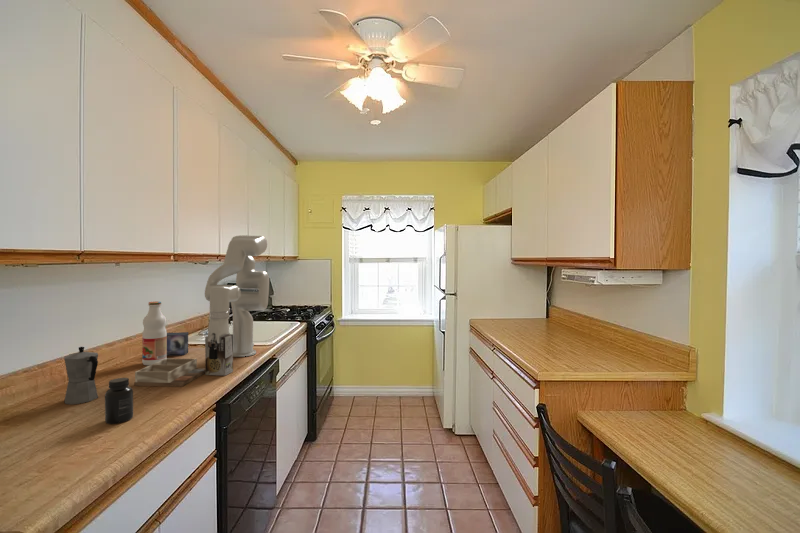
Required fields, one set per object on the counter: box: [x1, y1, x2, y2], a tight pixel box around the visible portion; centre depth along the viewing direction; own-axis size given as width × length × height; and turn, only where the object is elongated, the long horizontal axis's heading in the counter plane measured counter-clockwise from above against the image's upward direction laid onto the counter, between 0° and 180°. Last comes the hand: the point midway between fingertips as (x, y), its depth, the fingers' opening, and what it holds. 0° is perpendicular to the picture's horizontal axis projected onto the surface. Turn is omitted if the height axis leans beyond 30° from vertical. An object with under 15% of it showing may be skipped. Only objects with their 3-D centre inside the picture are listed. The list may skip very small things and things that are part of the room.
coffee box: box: [204, 333, 234, 376], centre depth 162 cm, size 9×6×16 cm
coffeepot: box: [63, 346, 99, 405], centre depth 130 cm, size 15×9×18 cm, turn 65°
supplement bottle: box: [104, 377, 134, 425], centre depth 115 cm, size 7×7×12 cm
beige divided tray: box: [134, 357, 205, 387], centre depth 155 cm, size 20×18×5 cm
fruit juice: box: [141, 301, 168, 366], centre depth 175 cm, size 9×9×28 cm
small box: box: [167, 331, 189, 357], centre depth 192 cm, size 11×6×10 cm, turn 102°
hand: (218, 356), depth 161 cm, fingers open, 9 cm apart
